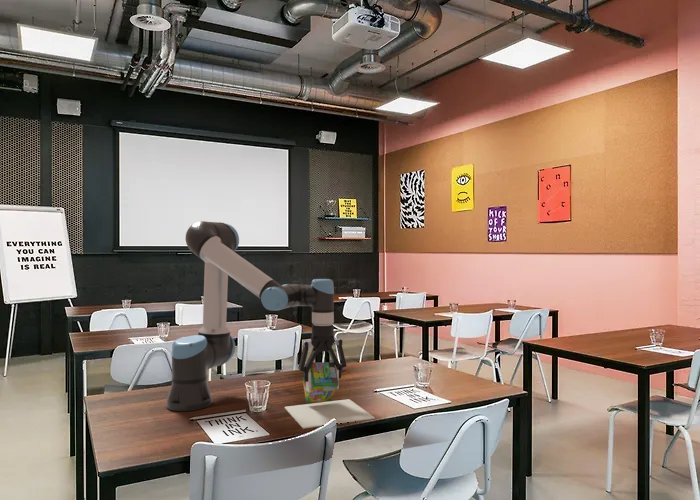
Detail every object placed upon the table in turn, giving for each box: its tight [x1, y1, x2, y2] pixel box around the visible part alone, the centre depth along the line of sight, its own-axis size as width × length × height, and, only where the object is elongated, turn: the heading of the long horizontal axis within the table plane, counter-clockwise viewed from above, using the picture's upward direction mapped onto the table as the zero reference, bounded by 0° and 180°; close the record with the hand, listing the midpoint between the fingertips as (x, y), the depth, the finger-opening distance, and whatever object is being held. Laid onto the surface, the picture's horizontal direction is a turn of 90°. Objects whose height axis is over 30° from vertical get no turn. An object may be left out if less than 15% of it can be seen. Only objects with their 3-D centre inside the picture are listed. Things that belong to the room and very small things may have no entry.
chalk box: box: [302, 361, 338, 403], centre depth 174 cm, size 9×9×15 cm
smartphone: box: [341, 369, 350, 376], centre depth 221 cm, size 8×17×1 cm, turn 153°
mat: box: [284, 398, 376, 430], centre depth 168 cm, size 24×22×1 cm
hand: (322, 389), depth 173 cm, fingers closed on chalk box, 9 cm apart
